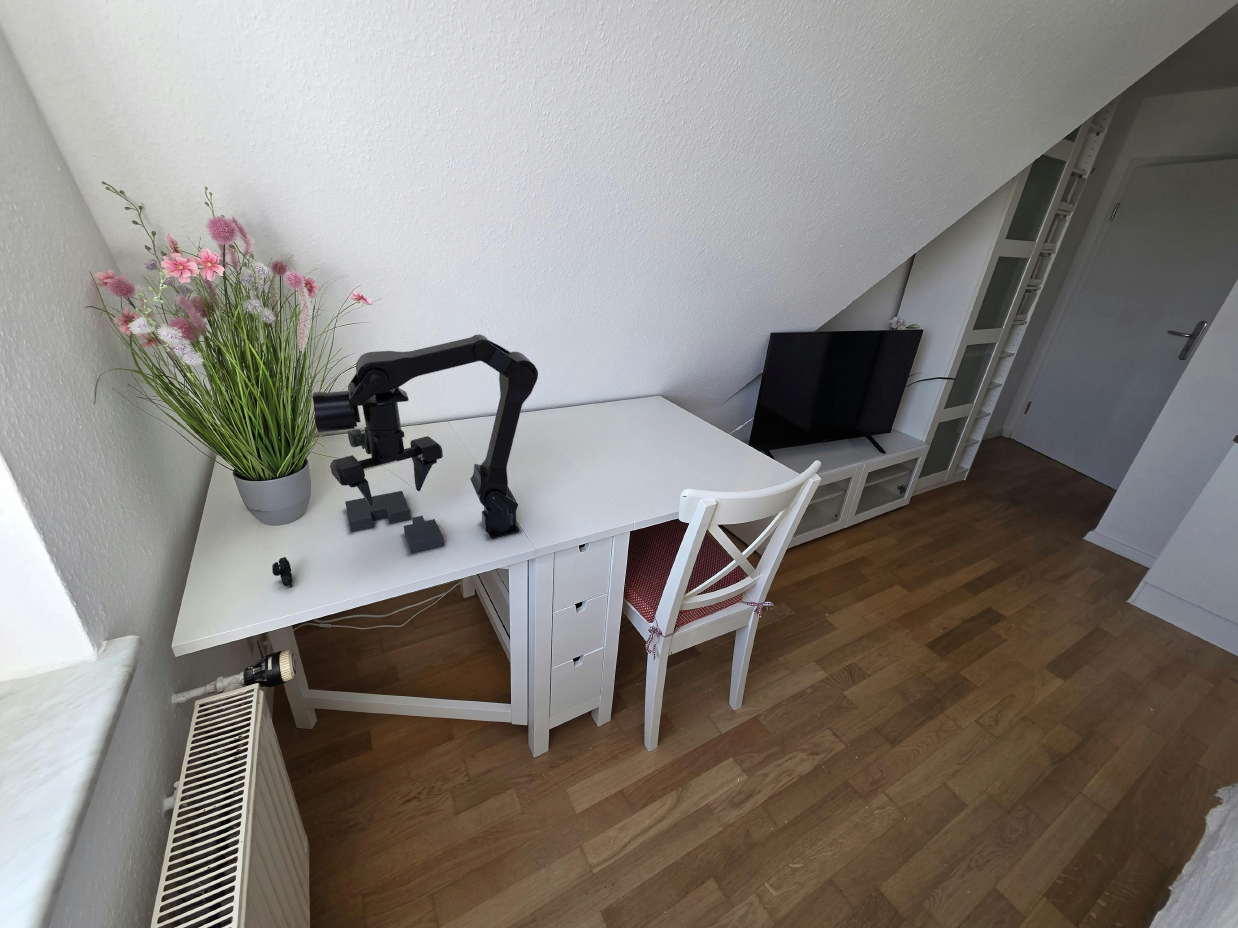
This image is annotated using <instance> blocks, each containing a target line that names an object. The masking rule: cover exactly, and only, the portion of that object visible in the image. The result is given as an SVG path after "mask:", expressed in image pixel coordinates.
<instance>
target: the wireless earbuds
mask: <svg viewBox="0 0 1238 928" xmlns="http://www.w3.org/2000/svg"><path fill="white" fill-rule="evenodd" d="M271 568H272V569H271V570H272V574H273V576H274V577H278V576H280V581H281V583H282V585H283V586H284V587H289V588H293V587H294V585H293V574H292V568H291V564H290V561H289V560H288V559H287V557H286V556H283V557H280V558H279V559H278V561H275V562H274V563H273V564H272V565H271Z"/></svg>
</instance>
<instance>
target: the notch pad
mask: <svg viewBox="0 0 1238 928" xmlns="http://www.w3.org/2000/svg"><path fill="white" fill-rule="evenodd" d="M371 496H372V500H373V506H372V507H371V506H370V505H369V504H368V502H367V501H366V499H365V498H364V497H361V498H356V499H349V500H345V502H344V504H345V509H346V514H347V518H348V524H349V527H350V533H354V532H359V531H363V530H368V529H373V528H374V527H375V526H374V521H378V520H379V521H380V520H384V519H387V520H388V523H389V524H390V525H392V524H395V523H400V522H404V521H410V520H412V518H411V512H410V507H409V505H408V503H407V500H406V497H405V494H404V492H403V490H398V491H394V492H387V493H382V494H378V495H377V494H376V495H371Z"/></svg>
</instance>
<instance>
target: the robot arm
mask: <svg viewBox="0 0 1238 928" xmlns="http://www.w3.org/2000/svg"><path fill="white" fill-rule="evenodd" d="M477 362H482V363H483V364H486V365H487V366H489V367H490V368H492V369H493V370H494V371H496V372H497V373H498V383H499V394H500V395H499V401H498V406H497V410H496V413H495V417H494V423H493V427H492V431H491V435H490V439H489V443H488V447H487V452H486V455H485V459H484V460H483V462H482V463H481V464H479V463H474V464H473V473H472V476H470V479H469V480H470V482H471V484H472V487H473V489H474V491H475V494H476V496H477V498H478V500H479V502H480V504H481V505H482V506H483V510H481V524H482V525H481V526H482V528H483V530H484V531H485V533H487V535H488V537H489V538H490V539H497V538H501V537H505V536H508V535H513V534H516V533H519V532H520V528H519V527H518V525H517V510H518V508H519V503H518V502H517V499H516V498H515V496H514V494H513V493H512V491H511V489H510V487H509V479H508V463H509V460H510V456H511V451H512V448H513V444H514V440H515V435H516V431H517V428H518V424H519V419H520V415H521V412H522V407H523V405H524V403H525V402H526V401H527V399H528V398H529V397H530V395H532V393H533V390H534V388H535V386H536V383H537V381H538V378H539V371H538V368H537V366H536V365H535V364H534V363H533V362H532V361H531V359H529V358H528V357H527V356H526V355H525V354H523V353H522V352H520V351H510V350H508V349H506V348H504V347H503V346H501V345H500V344H498V343H495V342H494V341H492V340H490V339H488V338H487V337H486V336H485V335H483V334H474V335H472V336H470V337H466V338H462V339H458V340H457V339H456V340H453V341H449V342H445V343H440V344H435V345H431V346H428V347H427V346H426V347H423V348H418V349H413V350H410V351H409V350H408V351H395V350H380V351H378V350H377V351H367V352H364V353H363V354H361V355H360V356H359V358H358V359H357V360H356V364H355V372H356V373H355V374H354V376H353V377H352V379H351V380H350V382H348V385H347V390H340V391H328V392H327V391H326V392H325V391H314V392H313V393H312V396H311V397H312V399H311V400H312V402H313V410H314V424H315V427H316V431H317V433H318V434H320V433H329V432H331V433H332V432H339V431H347V438H348V442H349V445H350V446H351V447H352V448H358V447H361V449H362V450H365V453H366V454H367V455H370V456H371V457H369V458H365V459H360V460H358V459H357V458H356V457H355V455H348V456H344V457H340V458H336V459H332V460H331V463H330V464H329V466H330V471H331V472H330V473H331V475H332V476H333V477H334V479H335V480H337V482H338V483H339V484H340V485H341V486H344V487H345V486H346V487H347V486H349V487H350V488H357V489H358V490H359V492H360V493H361V495H362V496H363V498H365V499H366V501H367V502H368V504H369V505H370V506H371V507H372V506H373V500H372V496H373V495H372V492H371V488H370V484H369V481H368V479H367V478H366V471H368V470H372V469H375V468H379V467H383V466H387V465H390V464H394V463H397V462H401V461H404V460H408V459H411V461H412V464H413V477H414V485H415V490H416V491H417V492H420V491H421V490H422V488H423V485H424V483H425V481H426V478H427V477H428V474H429V473H430V471H431V469H432V467H433V465H436V464H437V463H438V460H440V459H442V458H443V457H444V453H443V448H442V445H441V444H440V443H438V442H437V441H436V440H434V439H433V438H432V437H431V436H429V435H427V436H422V437H419V438H415V439H411V440H410V442H409V444H410V445H409V446H410V447H406V448H405V444H404V438H405V431H404V430H403V429H402V424H401V417H400V411H399V404H398V403H404V402H408V401H409V400H410V399H409V396H408V393H407V391H405V390H404V389H402V388H401V386H403V385H405V384H406V383H408V382H409V381H411V380H413V379H415V378H417V377H420V376H425V375H428V374H432V373H437V372H441V371H444V370H448V369H453V368H457V367H461V366H465V365H469V364H474V363H477ZM360 406H362V413H363V416H364V418H363V419H364V423H365V426H364V431H362V430H361V429H359V428H357V427H358V423H361V422H362V420H361V415H360V410H359V409H360V408H359V407H360Z"/></svg>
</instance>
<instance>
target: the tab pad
mask: <svg viewBox="0 0 1238 928" xmlns="http://www.w3.org/2000/svg"><path fill="white" fill-rule="evenodd" d="M411 522H412V523H410V524H405V525H403V531H404V532H403V533H404V537H405V541H406V544H407V546H408V549H409V552H410V554H411V555H413V554H418V553H422V552H425V551H429V550H433V549H437V548H441V547H444V540H443V535H442V533H441V530H440V528H439V525H438V524H437V521H436V519H434V518H433V519H429V520H425V519H424V516H423V515H419V516H413V517H412V518H411Z"/></svg>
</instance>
